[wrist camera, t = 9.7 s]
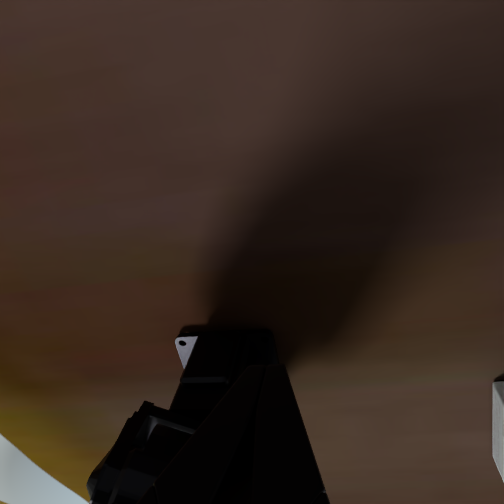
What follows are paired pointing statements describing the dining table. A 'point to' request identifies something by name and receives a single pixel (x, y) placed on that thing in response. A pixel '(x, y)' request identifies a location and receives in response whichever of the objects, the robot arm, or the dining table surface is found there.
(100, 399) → the dining table surface
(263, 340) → the robot arm
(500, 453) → the supplement box
